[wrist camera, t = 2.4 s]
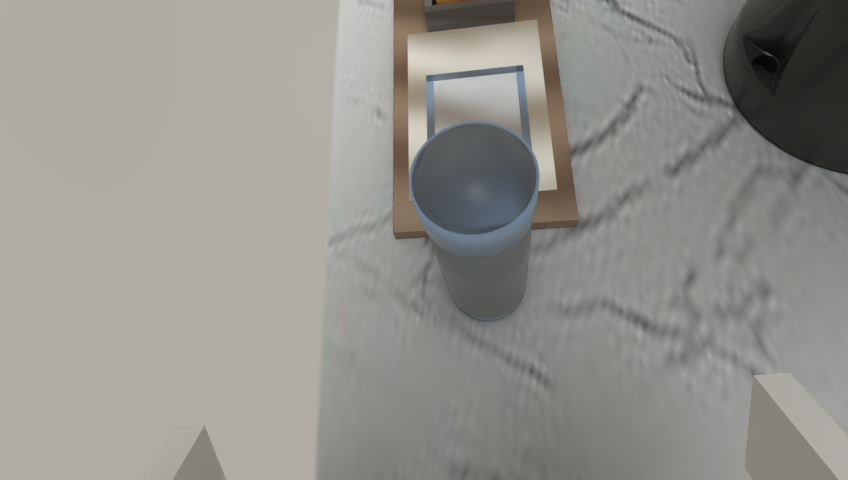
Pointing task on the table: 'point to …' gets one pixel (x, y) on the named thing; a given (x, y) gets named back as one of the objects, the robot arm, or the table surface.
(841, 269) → the table surface
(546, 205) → the wooden board
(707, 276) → the table surface
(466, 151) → the cup
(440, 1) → the button
